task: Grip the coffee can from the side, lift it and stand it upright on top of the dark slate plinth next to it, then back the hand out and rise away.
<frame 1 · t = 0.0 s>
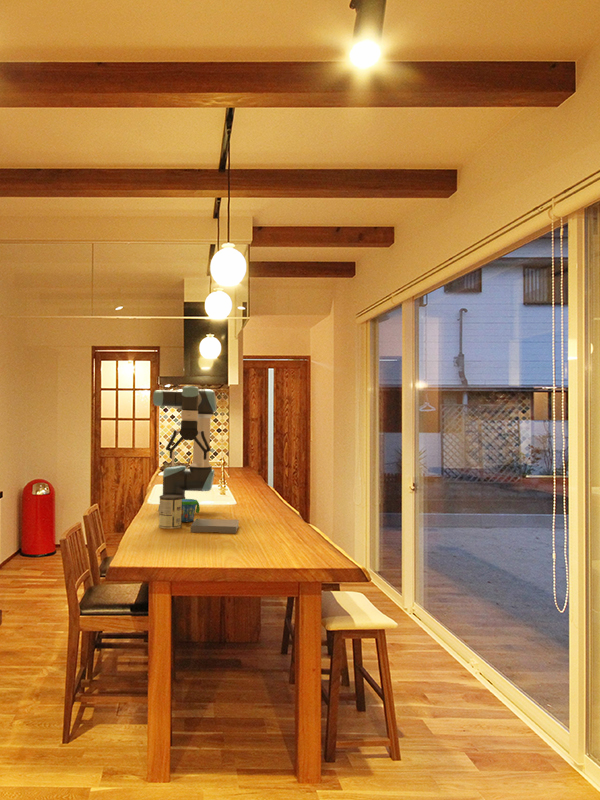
hand: (187, 466, 305), 28 cm above the kitchen island, tool pointing down, fingers open, 13 cm apart
snack cup: (185, 521, 321), on the kitchen island
coffee can: (169, 527, 305), on the kitchen island
slate plinth: (215, 529, 303), on the kitchen island
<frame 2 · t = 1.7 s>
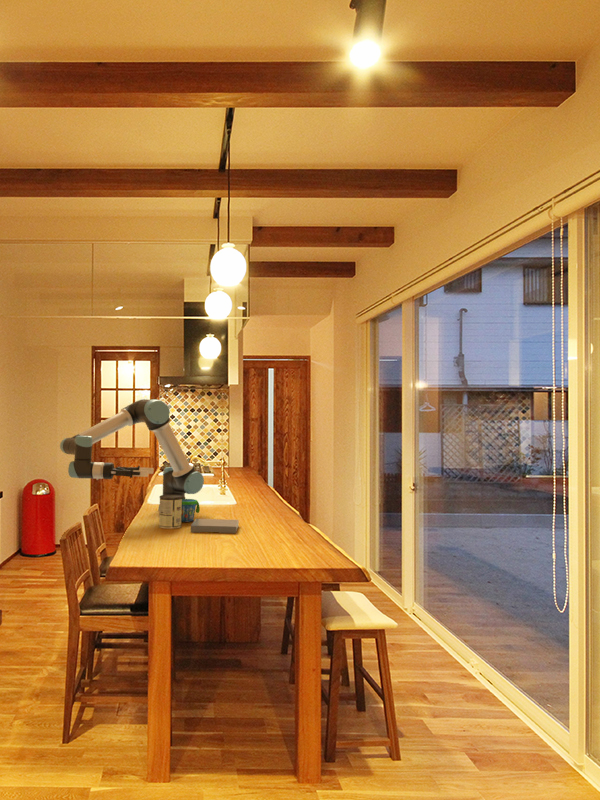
hand: (150, 472, 305), 25 cm above the kitchen island, tool horizontal, fingers open, 13 cm apart
nothing on the kitchen island moved.
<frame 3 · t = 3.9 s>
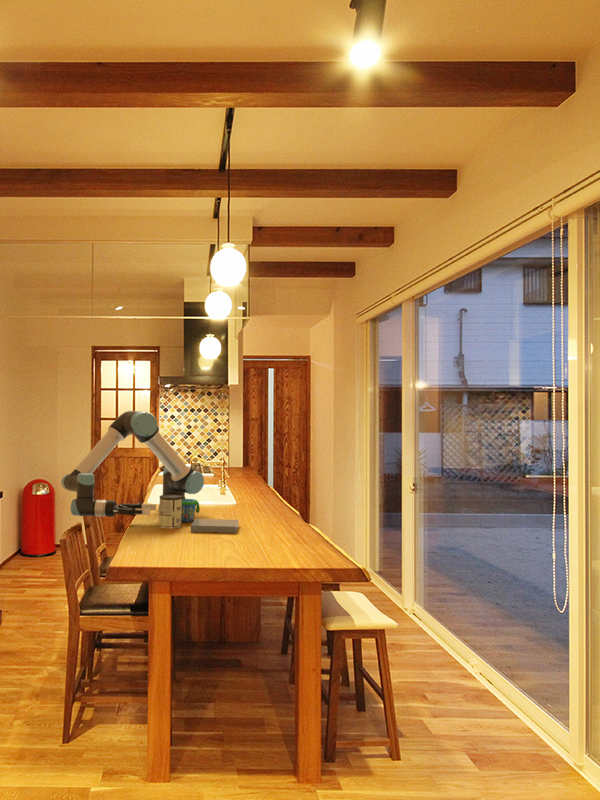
hand: (152, 509, 305), 8 cm above the kitchen island, tool horizontal, fingers open, 13 cm apart
nothing on the kitchen island moved.
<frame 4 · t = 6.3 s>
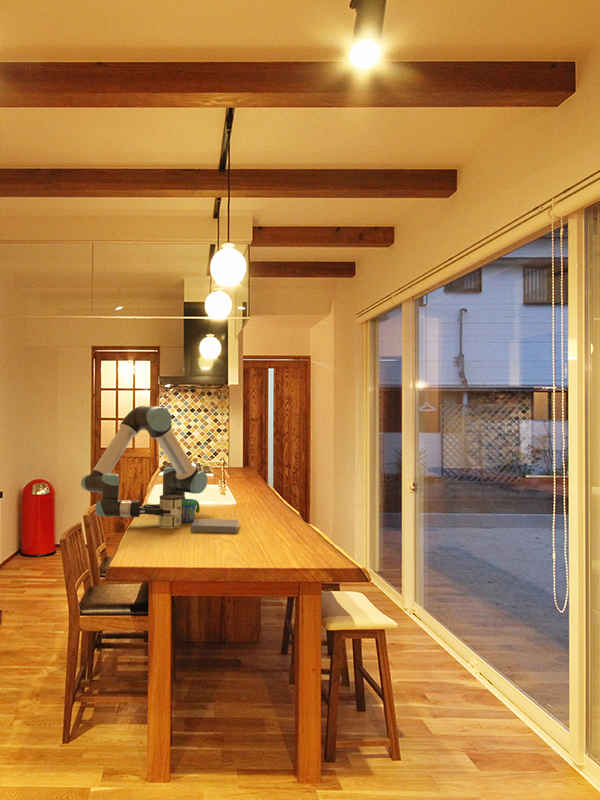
hand: (179, 510, 305), 8 cm above the kitchen island, tool horizontal, fingers closed on coffee can, 10 cm apart
coffee can: (169, 527, 305), on the kitchen island, touching gripper
everything else where it was.
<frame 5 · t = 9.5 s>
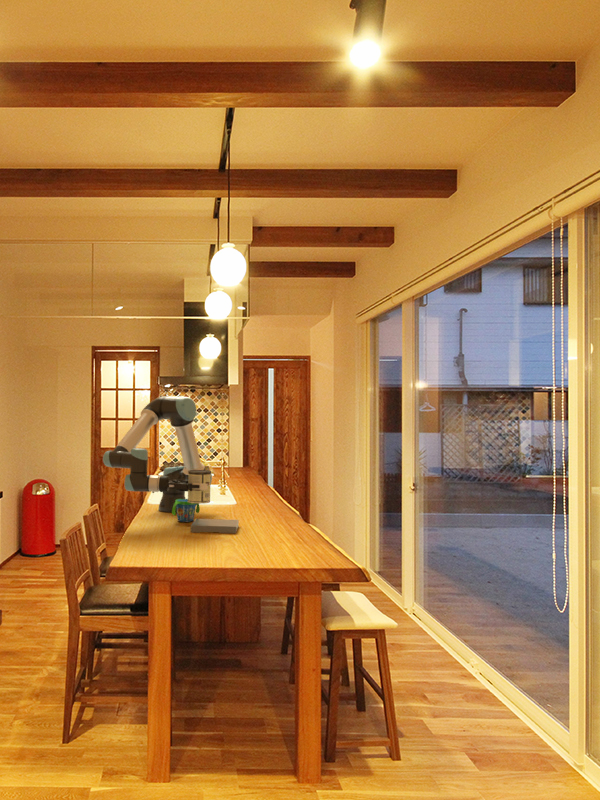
hand: (208, 485, 302), 20 cm above the kitchen island, tool horizontal, fingers closed on coffee can, 10 cm apart
coffee can: (198, 502, 302), point 12 cm above the kitchen island, touching gripper
everything else where it was.
when the fingers open (12 cm above the kitchen island, at t = 12.5 s): coffee can drops 2 cm, resting on slate plinth.
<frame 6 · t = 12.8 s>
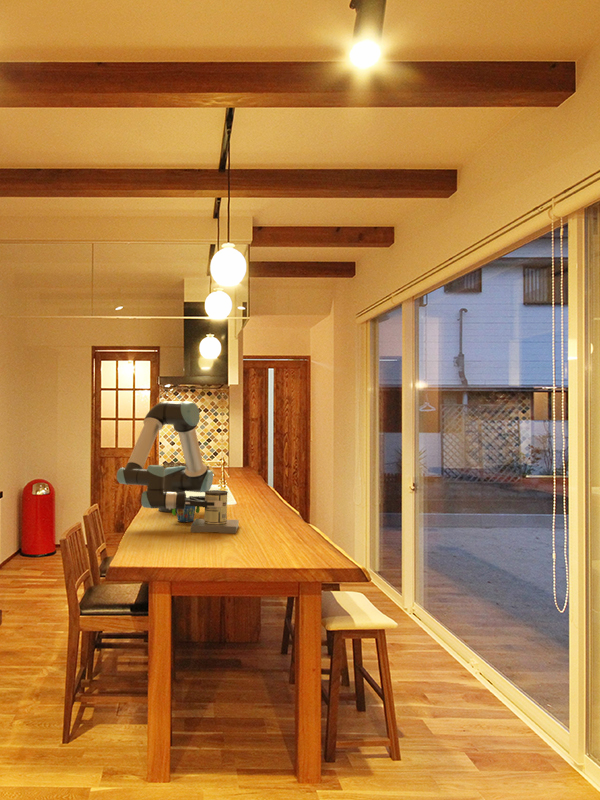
hand: (223, 501, 303), 12 cm above the kitchen island, tool horizontal, fingers open, 13 cm apart
coffee can: (215, 522, 303), point 3 cm above the kitchen island, touching slate plinth
everything else where it was.
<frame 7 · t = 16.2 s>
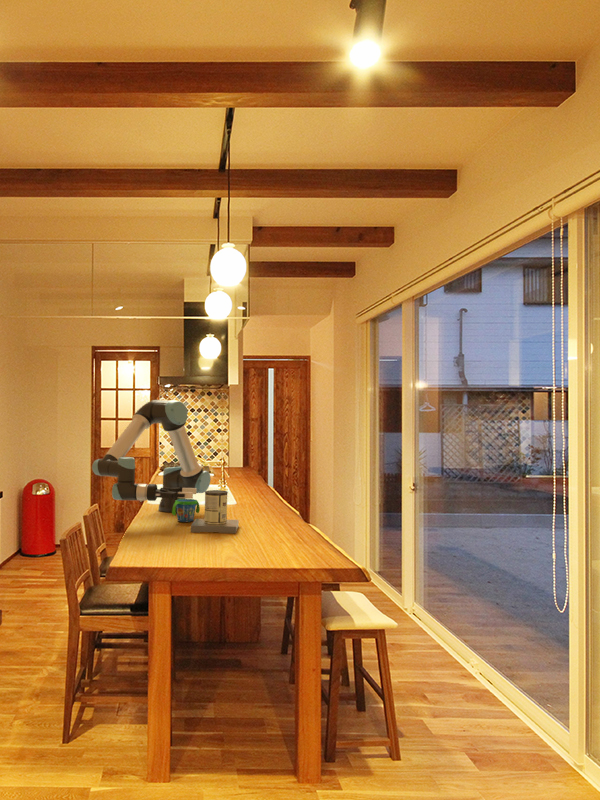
hand: (194, 493, 302), 16 cm above the kitchen island, tool horizontal, fingers open, 13 cm apart
nothing on the kitchen island moved.
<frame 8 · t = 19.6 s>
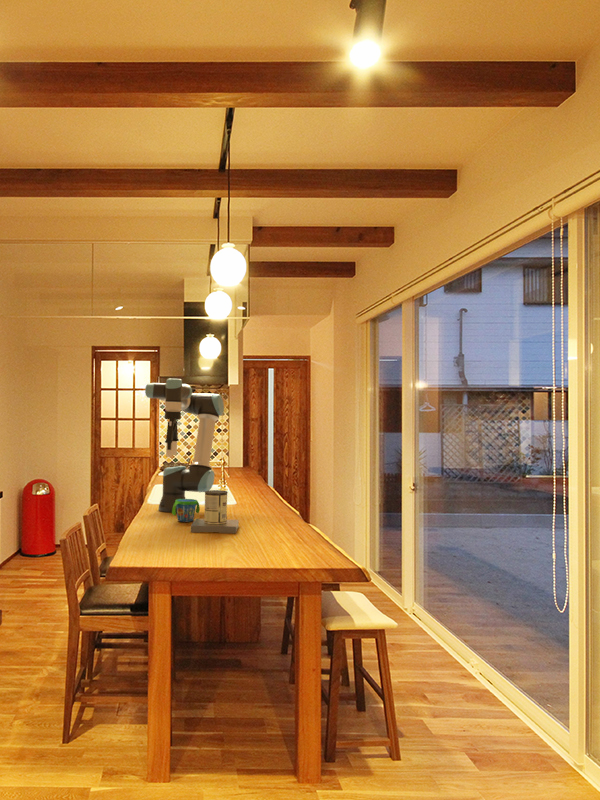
hand: (171, 455, 316), 32 cm above the kitchen island, tool pointing down, fingers open, 13 cm apart
nothing on the kitchen island moved.
at the end: coffee can inside the target area on the slate plinth (0.1 cm from its centre), point 2.8 cm above the slate plinth's base; coffee can tilted 0°; the gripper is holding nothing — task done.
